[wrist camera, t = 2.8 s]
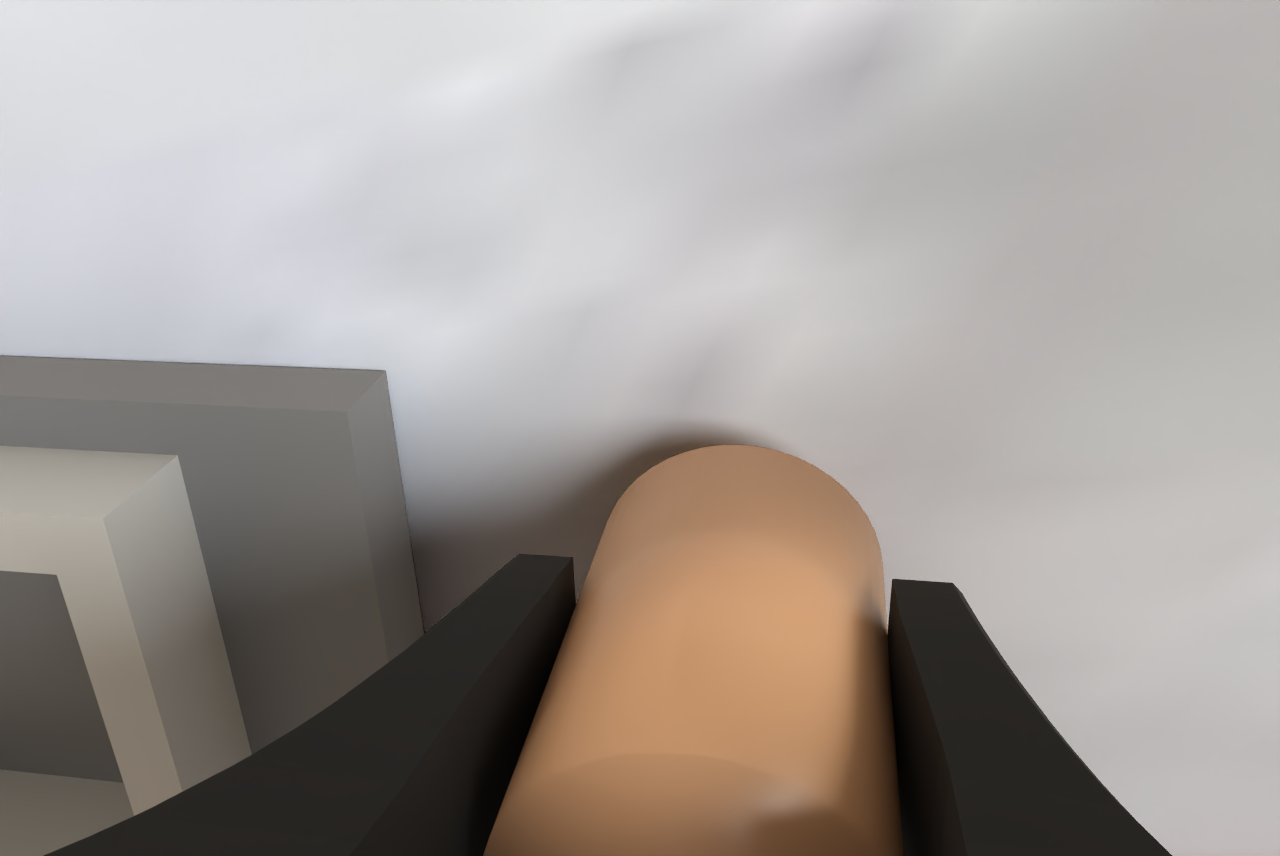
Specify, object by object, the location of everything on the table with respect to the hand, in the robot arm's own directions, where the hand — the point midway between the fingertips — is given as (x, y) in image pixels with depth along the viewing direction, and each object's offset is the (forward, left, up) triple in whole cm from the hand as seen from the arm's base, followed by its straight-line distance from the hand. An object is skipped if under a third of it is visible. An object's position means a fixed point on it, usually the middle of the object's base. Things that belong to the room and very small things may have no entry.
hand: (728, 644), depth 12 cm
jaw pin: (0, 0, -2) cm, 2 cm away
